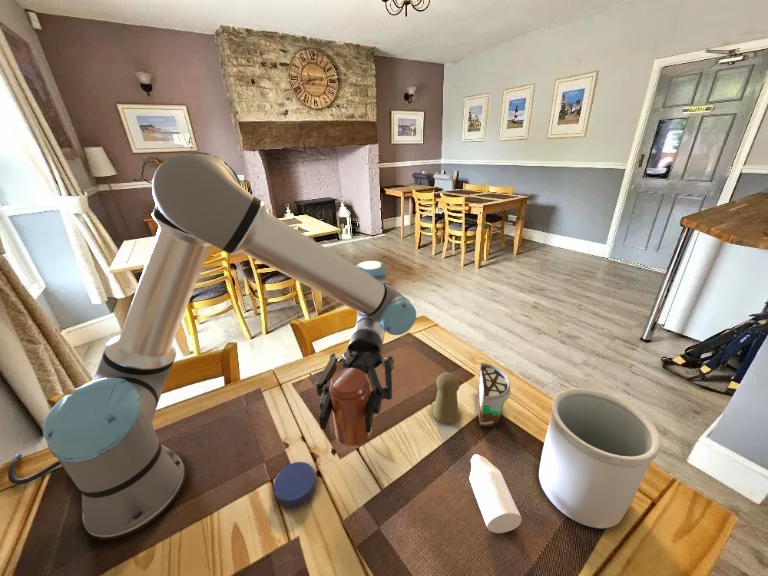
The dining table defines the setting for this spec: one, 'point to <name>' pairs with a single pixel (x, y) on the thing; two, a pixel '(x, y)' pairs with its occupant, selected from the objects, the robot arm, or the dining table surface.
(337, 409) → the jar
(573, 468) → the utensil holder
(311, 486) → the lid
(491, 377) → the food container
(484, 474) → the white dropper bottle
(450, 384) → the olive brown pawn
